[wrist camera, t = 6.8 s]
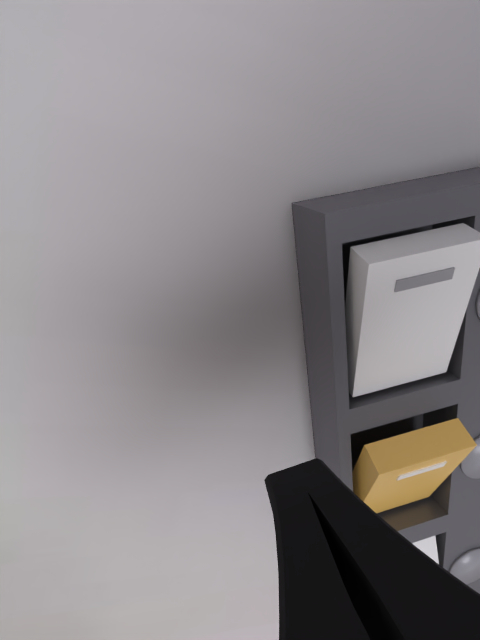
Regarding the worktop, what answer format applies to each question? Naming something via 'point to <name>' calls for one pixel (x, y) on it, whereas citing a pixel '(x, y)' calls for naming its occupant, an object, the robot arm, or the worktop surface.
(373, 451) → the rocker mid
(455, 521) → the power strip
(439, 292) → the rocker
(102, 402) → the worktop surface
